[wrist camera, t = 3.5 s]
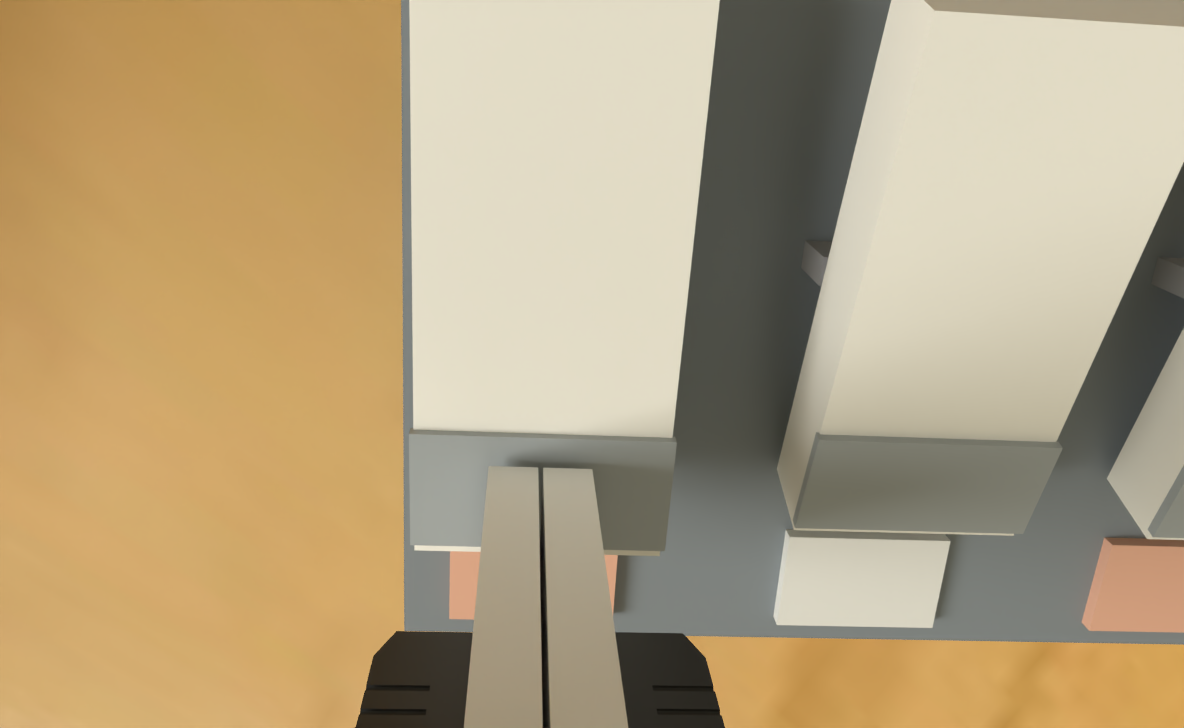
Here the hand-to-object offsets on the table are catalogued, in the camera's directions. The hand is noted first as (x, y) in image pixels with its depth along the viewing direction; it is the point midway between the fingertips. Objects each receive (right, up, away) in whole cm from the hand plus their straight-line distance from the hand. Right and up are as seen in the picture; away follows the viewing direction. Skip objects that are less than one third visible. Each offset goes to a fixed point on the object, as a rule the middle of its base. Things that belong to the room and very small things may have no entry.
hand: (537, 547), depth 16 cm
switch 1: (0, +4, 0) cm, 4 cm away
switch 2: (+7, +4, 0) cm, 8 cm away
